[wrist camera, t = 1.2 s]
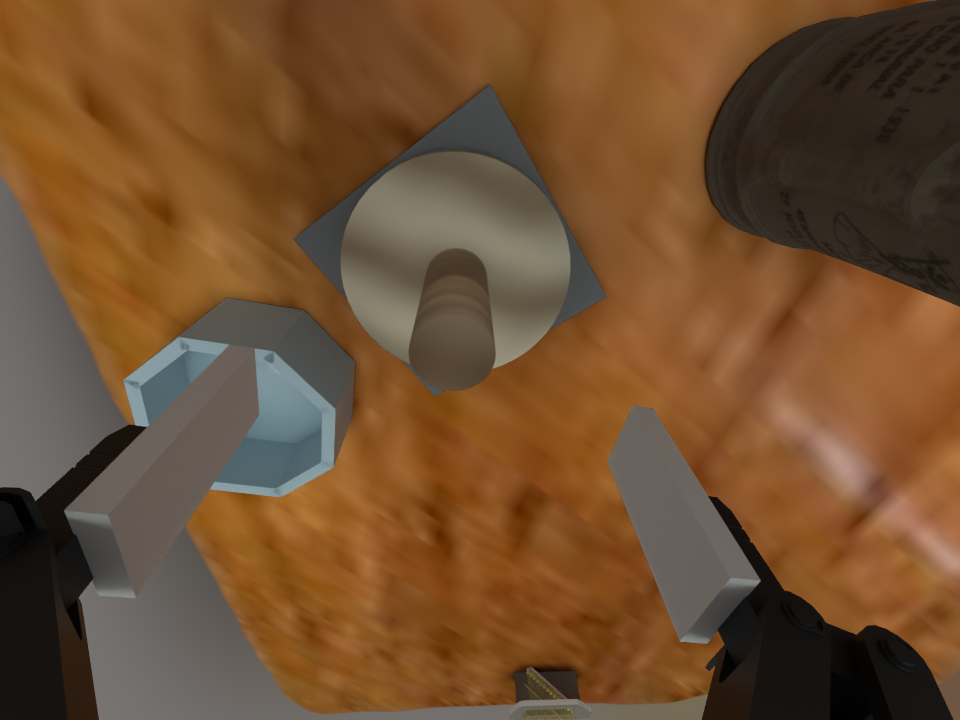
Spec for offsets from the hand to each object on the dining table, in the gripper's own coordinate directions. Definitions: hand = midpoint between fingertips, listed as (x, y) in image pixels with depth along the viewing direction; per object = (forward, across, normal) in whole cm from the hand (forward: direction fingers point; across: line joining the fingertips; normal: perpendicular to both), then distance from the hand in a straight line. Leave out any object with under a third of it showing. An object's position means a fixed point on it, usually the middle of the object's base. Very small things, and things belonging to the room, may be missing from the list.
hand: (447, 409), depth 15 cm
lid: (+14, 0, 0) cm, 14 cm away
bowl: (+15, -12, -10) cm, 22 cm away
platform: (+16, +20, -50) cm, 57 cm away
